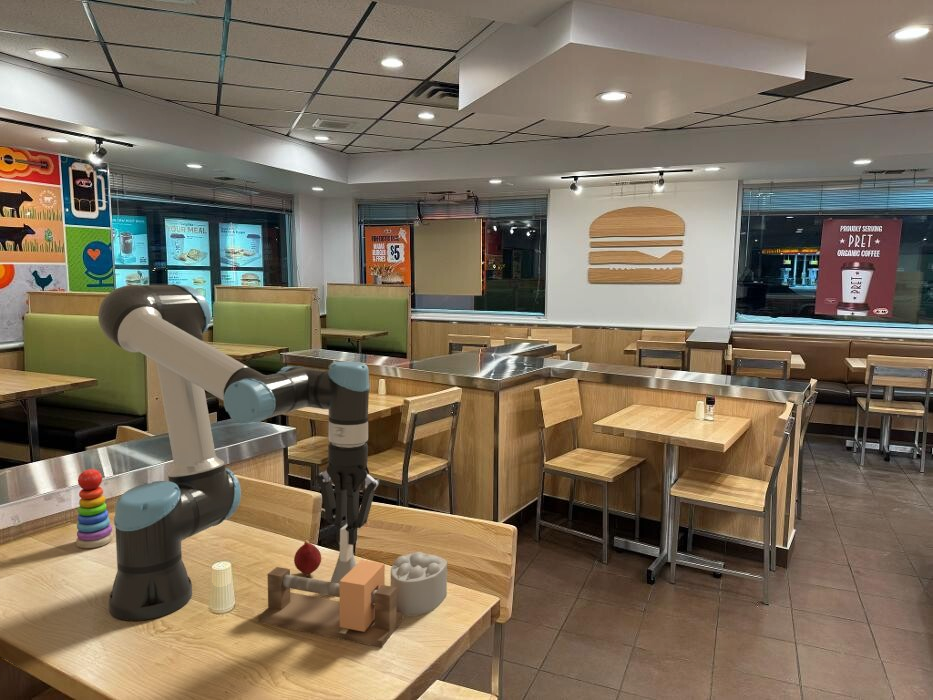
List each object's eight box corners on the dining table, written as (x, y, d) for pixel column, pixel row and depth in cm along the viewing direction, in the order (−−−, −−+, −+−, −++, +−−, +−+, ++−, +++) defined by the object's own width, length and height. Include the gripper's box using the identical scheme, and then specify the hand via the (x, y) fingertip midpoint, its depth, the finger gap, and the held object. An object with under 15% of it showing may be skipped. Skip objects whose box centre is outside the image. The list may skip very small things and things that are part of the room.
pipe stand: (257, 622, 120) (257, 582, 119) (286, 597, 129) (286, 559, 128) (382, 647, 112) (382, 604, 111) (403, 618, 122) (403, 579, 121)
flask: (355, 594, 131) (355, 549, 130) (323, 590, 132) (323, 545, 131) (367, 578, 138) (367, 535, 137) (337, 574, 139) (336, 531, 138)
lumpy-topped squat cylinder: (452, 591, 133) (453, 553, 132) (423, 621, 121) (424, 579, 120) (410, 581, 137) (410, 543, 136) (378, 609, 125) (378, 568, 124)
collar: (339, 627, 115) (339, 581, 114) (361, 602, 124) (361, 559, 123) (364, 631, 114) (364, 585, 113) (384, 607, 122) (384, 563, 121)
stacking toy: (81, 537, 156) (77, 465, 154) (117, 534, 158) (113, 463, 156) (71, 551, 148) (67, 475, 146) (109, 547, 151) (105, 472, 148)
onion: (323, 568, 142) (323, 535, 141) (318, 581, 136) (317, 546, 135) (297, 568, 142) (297, 535, 141) (291, 581, 136) (291, 546, 135)
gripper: (307, 443, 118) (307, 561, 121) (370, 451, 114) (368, 572, 117) (327, 433, 125) (326, 545, 128) (387, 441, 121) (384, 555, 124)
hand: (346, 558), depth 122 cm, fingers closed
